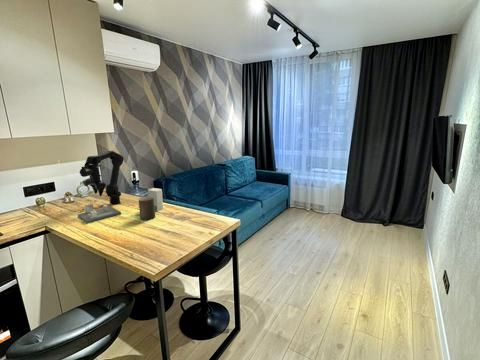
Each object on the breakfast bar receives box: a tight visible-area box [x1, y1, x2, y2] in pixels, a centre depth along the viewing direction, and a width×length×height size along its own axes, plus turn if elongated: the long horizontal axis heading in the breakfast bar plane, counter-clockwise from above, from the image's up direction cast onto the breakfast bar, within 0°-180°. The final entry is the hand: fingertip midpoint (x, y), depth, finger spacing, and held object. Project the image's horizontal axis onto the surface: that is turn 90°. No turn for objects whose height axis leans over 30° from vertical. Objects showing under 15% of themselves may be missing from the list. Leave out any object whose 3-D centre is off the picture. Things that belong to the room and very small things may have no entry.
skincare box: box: [147, 187, 164, 213], centre depth 190 cm, size 8×7×16 cm
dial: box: [84, 203, 95, 214], centre depth 181 cm, size 6×3×6 cm, turn 3°
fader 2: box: [102, 204, 109, 211], centre depth 184 cm, size 2×3×4 cm
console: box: [77, 206, 122, 225], centre depth 181 cm, size 22×18×2 cm
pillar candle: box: [137, 195, 156, 221], centre depth 175 cm, size 10×10×15 cm
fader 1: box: [91, 211, 97, 218], centre depth 173 cm, size 2×3×4 cm
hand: (98, 194), depth 189 cm, fingers open, 9 cm apart
